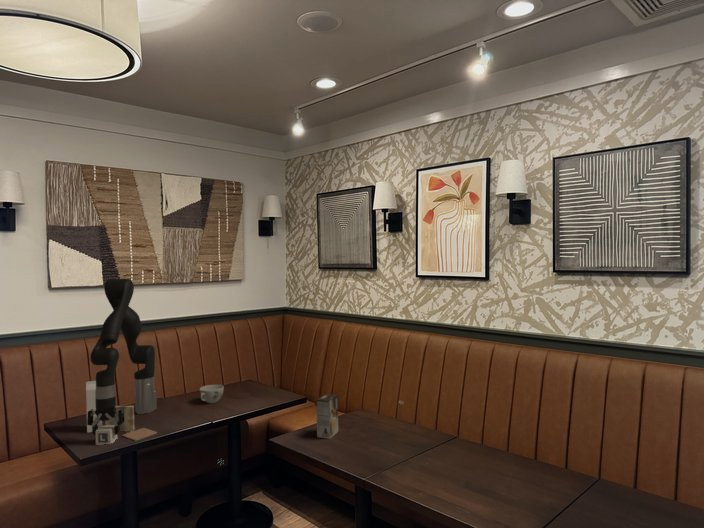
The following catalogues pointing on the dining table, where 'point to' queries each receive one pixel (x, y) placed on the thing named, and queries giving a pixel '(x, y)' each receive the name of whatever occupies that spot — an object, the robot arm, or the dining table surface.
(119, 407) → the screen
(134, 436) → the coaster
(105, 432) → the cube
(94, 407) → the milk
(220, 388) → the teacup
